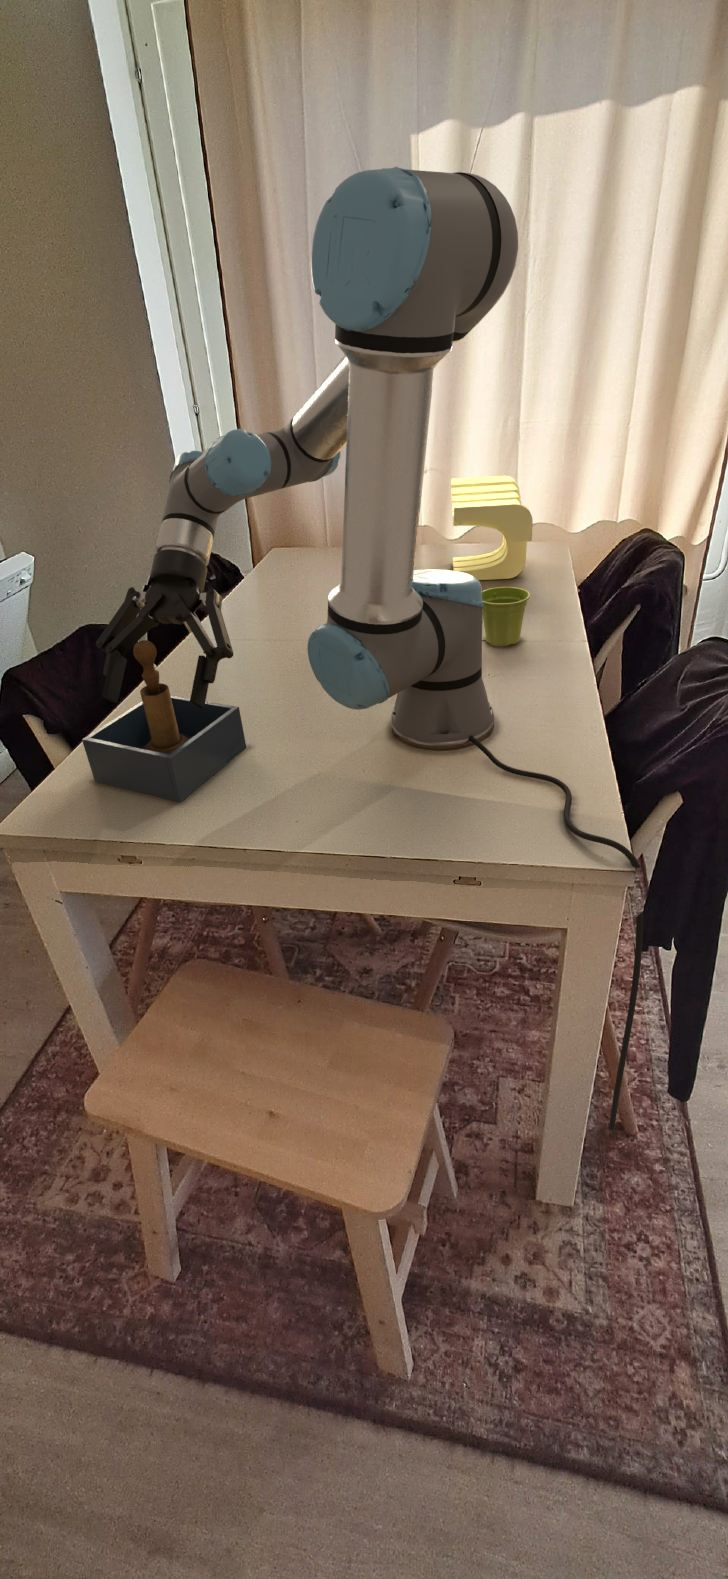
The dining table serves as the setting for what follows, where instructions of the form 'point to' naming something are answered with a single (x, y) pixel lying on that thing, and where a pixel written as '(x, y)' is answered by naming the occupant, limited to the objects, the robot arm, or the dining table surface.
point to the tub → (168, 776)
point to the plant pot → (503, 614)
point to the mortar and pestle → (157, 703)
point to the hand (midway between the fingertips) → (152, 702)
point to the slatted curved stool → (492, 524)
